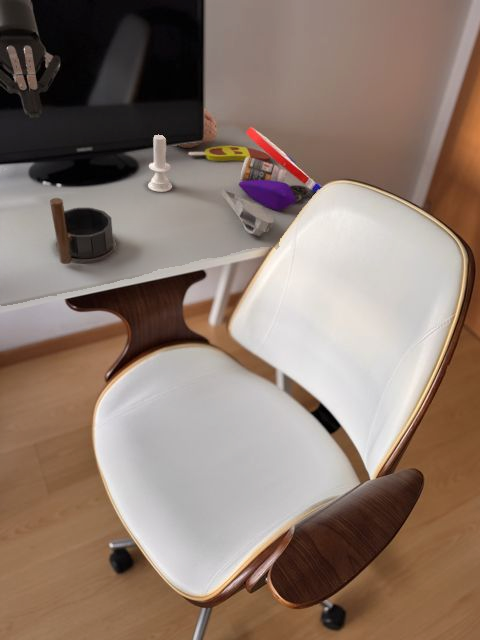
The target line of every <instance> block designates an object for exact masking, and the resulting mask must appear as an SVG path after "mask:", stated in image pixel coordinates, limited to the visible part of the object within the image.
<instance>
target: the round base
mask: <svg viewBox="0 0 480 640" xmlns="http://www.w3.org/2000/svg"><path fill="white" fill-rule="evenodd" d="M116 247H117V244H116V239H115V237H114V236H113V246H112V248H111V249H110V250H109V251H108V252H106V253H105V254H103V255H100V256H97V257H92V258H77V257H72V256H71V258H72V261H71V263H78V264H90V263H92V264H93V263H96V262H101V261H103V260H105V259H108V258H109V257H110V256H112V255H113V254H114V252H115V251H116ZM55 248H56V252H57V254H59V252H58V246H57V240H56V242H55Z"/></svg>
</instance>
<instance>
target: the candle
mask: <svg viewBox="0 0 480 640" xmlns="http://www.w3.org/2000/svg"><path fill="white" fill-rule="evenodd" d="M152 138H153V139H152V143H153V144H152V145H153V150H152V151H153V162H150V163H149V164H148V168H149V169H150V170H151V171H153V172H155V173H154V175H153V177H152V178H151V180H150V181H149V182H148V183H147V187H148V189H149V190H151V191H153V192H156V193H165V192H168V191H170V190H172V188H173V185H172V183H171V182H170V180H169V179H168V177H167V176H166V174H165V173H166V172H168V171H170V170H171V165H170V164H169V163H167V161H166V158H167V157H166V154H167V153H166V152H167V140H166V138H165V137H164V136H163V135H159V134H158V135H154V137H152Z"/></svg>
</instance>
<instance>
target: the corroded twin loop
mask: <svg viewBox="0 0 480 640" xmlns="http://www.w3.org/2000/svg"><path fill="white" fill-rule="evenodd" d="M289 186H290V187H291V189H292V191H293V193H294V196H295V198H296V202H295V203H298V202H300V201H301V200H302V198H306V197H307V196H308V195H309V193H310V192H309V188H308V187H307V186H304V185H298V184H296V185H295V184H293V185H289Z"/></svg>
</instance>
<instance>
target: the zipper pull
mask: <svg viewBox="0 0 480 640" xmlns="http://www.w3.org/2000/svg"><path fill="white" fill-rule="evenodd" d="M220 194H221V195H222V196H223V197H224V199H225V200H226V202H227V203H228V204H229V206H230V207H231V209H232V210H233V211H234V212H235V214H236V215H237V217H238V218H239V219H240V222H241V224H242V226H243V228H244V230H245V231H246V232H247V233H249V234H251V235H255V236H257V237H260V236H261V235H263V234H264V233H268V232H269V231H270V226H271V224H274V222H275V218H274V217H273V216H272V215H270V214H269V213H268V212H265V210H264V208H263V207H262V205H259V204H256V203H254V202H252V201H249V200H246V199H243V198H241V197H239V196H238V195H237V194H236V193H234V192H233V191H230V190H228V189H225V188H223V189H222V190H221V193H220Z"/></svg>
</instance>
